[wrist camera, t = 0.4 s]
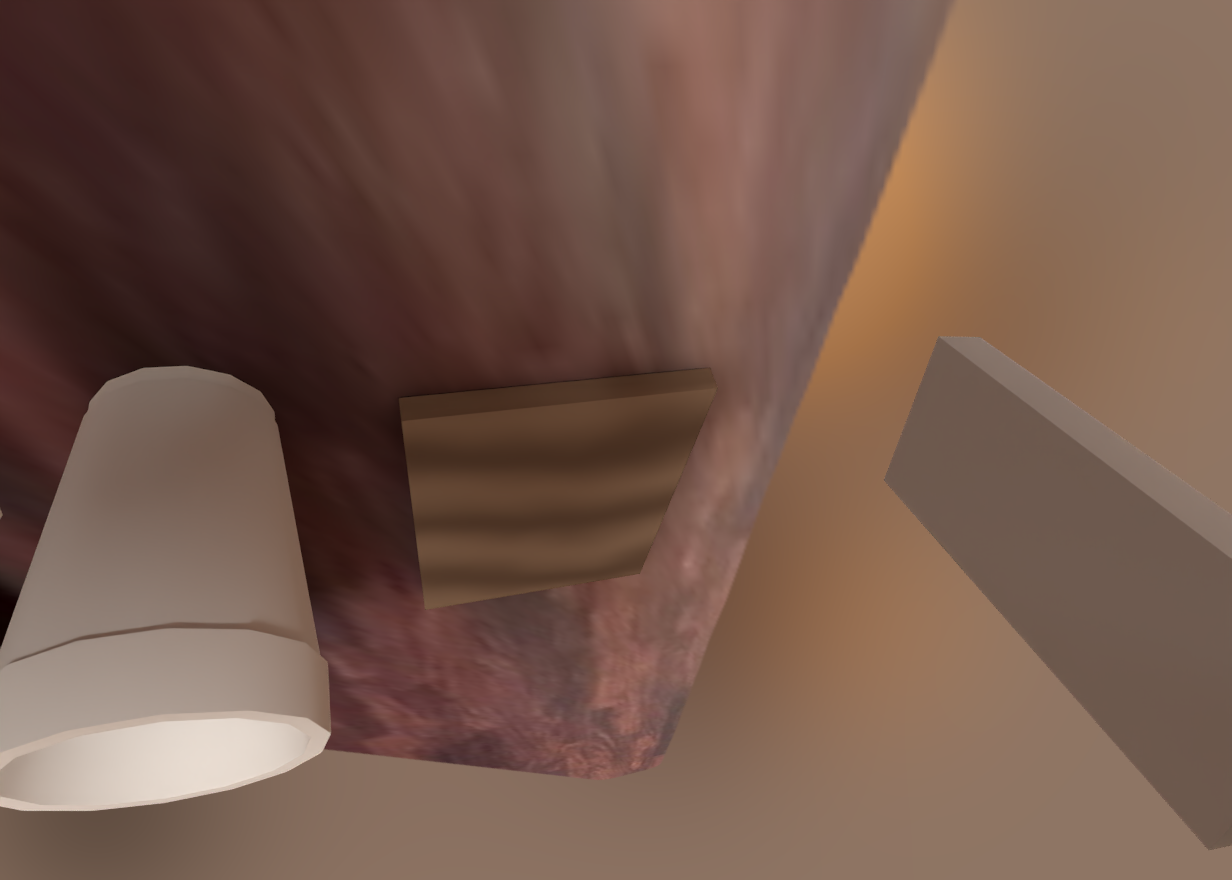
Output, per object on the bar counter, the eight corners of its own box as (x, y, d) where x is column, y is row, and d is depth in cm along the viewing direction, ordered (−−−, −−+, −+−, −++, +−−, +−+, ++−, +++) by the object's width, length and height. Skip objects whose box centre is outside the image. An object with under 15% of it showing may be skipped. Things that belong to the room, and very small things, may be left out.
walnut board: (398, 397, 32) (401, 421, 31) (709, 367, 36) (717, 388, 35) (423, 591, 48) (425, 609, 48) (635, 557, 52) (639, 573, 51)
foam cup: (163, 505, 34) (138, 819, 27) (-34, 395, 26) (-139, 798, 19) (359, 435, 33) (383, 740, 27) (216, 302, 26) (199, 686, 19)
